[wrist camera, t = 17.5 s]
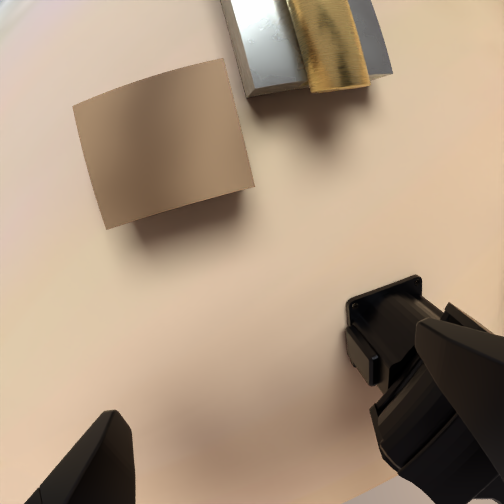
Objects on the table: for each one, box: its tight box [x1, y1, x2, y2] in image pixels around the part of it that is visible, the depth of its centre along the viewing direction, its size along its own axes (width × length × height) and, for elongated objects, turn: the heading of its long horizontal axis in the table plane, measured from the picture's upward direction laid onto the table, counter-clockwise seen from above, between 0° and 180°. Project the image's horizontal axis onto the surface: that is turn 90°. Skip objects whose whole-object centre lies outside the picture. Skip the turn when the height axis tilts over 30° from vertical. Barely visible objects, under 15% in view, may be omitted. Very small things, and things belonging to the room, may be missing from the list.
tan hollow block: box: [73, 58, 255, 230], centre depth 15 cm, size 7×6×4 cm
